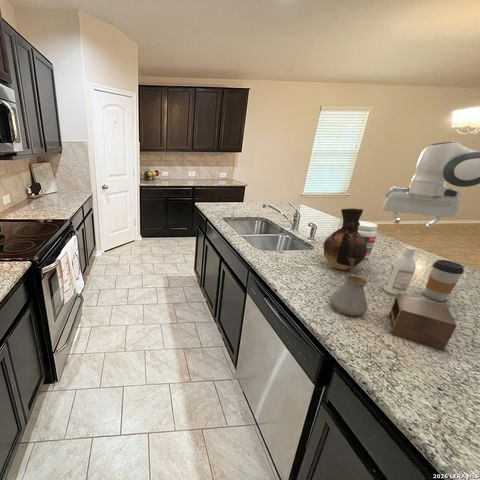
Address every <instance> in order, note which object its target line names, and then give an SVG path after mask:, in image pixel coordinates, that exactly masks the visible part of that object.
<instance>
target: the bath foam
mask: <svg viewBox="0 0 480 480" xmlns="http://www.w3.org/2000/svg"><path fill="white" fill-rule="evenodd" d="M416 250H417V249H416V248H415V247H412V246H406V247H405V248H404V251H403V253H402V255H401V256H398V257H397V258H396V259H394V260H393V262H392V264H391V266H390V269H389V271H388V273H387V276H386V279H385V281H384V285H383V291H385V292H387V293H388V294H391V295H394V296H396V295H397V293H400V294H403V295H406V292H407V290H408V288H409V285H410V283H411V281H412V278H413V276H414V274H415V271H416V266H417V265H416V262H415V260H414V255H415V252H416Z"/></svg>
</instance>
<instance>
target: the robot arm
mask: <svg viewBox="0 0 480 480" xmlns="http://www.w3.org/2000/svg"><path fill="white" fill-rule="evenodd" d="M446 183H448V184H449V185H451V186H454V187H459V188H470V187H473V186H477V185H480V151H477V150H474V149H471V148H469V147H466V146H464V145H462V144H460V143H459V142H458V141H454V140H453V141H444V142H436V143H432V144H430V145H428V146H426V147H425V148H424V149H423V151H422V152H421V154H420V156H419V158H418V161H417V163H416V167H415V174H414V175H413V177H412V178H411V180H410V183H409V187H397V186H393V187H391V188H388V189H387V190H386V193H385V199H384V202H383V204H382V209H383V210H384V212H391V213H392V216H393V220H392V221H393V222H392V223H393V224H398V225H399V224H400V221H401V219H400V218H399V217H398V215H399V213H400V214H401V213H402V214H411V215H418V216H419V215H422V216H428V217H433V219H432V220H431V221H427V222H426V225H425V227H426V228H430V229H432V228H433V227H434V225H435V224H436V223H438V222H439V221H441V219H442V218H448V219H449V218H450V219H454V218H456V217H457V216H458V215H459V212H460V208H461V205H462V202H461V199H460V197H461V196H462V191H460V190H459V189H456V188H452V187H451V186H448V185H447V186H446ZM397 217H398V218H397Z"/></svg>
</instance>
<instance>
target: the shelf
mask: <svg viewBox="0 0 480 480" xmlns="http://www.w3.org/2000/svg"><path fill="white" fill-rule="evenodd" d="M387 316H388V318H390V319H392V320H391V321H392V325H393V326H392V329H391V330H390V334H391V335H392V336H395V337H396V336H397V337H399V338H402V339H405V340H409V341H411V342H414V343H417V344H420V345H423V346H427V347H430V348H432V349H436V350H439V351H441V352H444V351H445V350H446V347H447V345H448V343H449V342H450V340H451V337H452V336H453V334H454V332H455V331H456V328H457V326H458V324H457V323H456V321H455V319H454V317H453V315H452V313H451V311H450V309H449V307H448V305H446V304H442V303H439V302H436V301H432V300H431V301H430V300H427V299H423V298H419V297H415V296H411V295H408V294H407V295H406V294H404V295H403V294H400V293H397V295H395V298H394V300H393V303H392V304H391V308H390V310H389V313H388V315H387Z"/></svg>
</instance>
